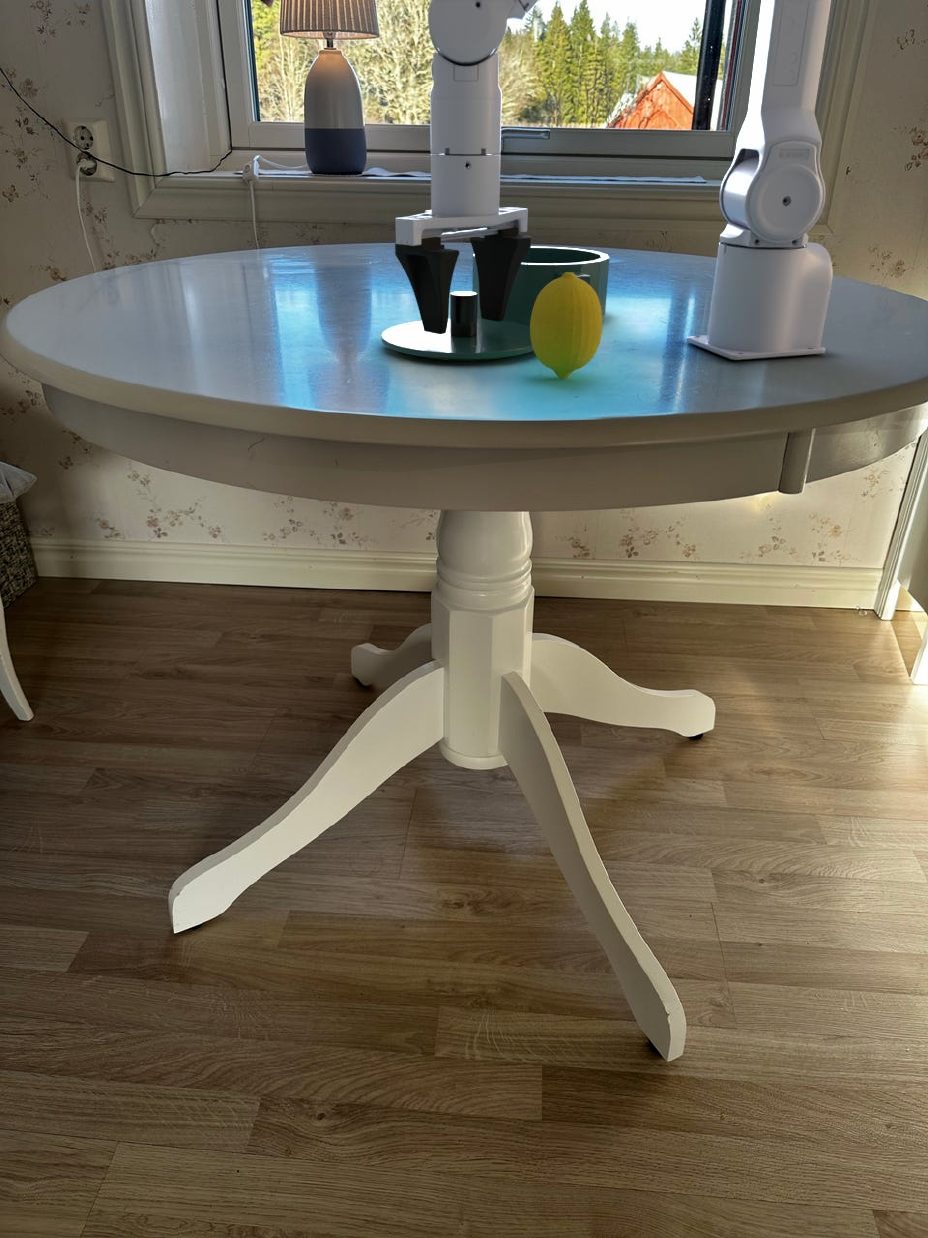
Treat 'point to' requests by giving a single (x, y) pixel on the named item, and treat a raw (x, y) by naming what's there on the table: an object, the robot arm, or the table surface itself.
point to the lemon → (566, 324)
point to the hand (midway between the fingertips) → (464, 325)
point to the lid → (461, 335)
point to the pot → (550, 278)
